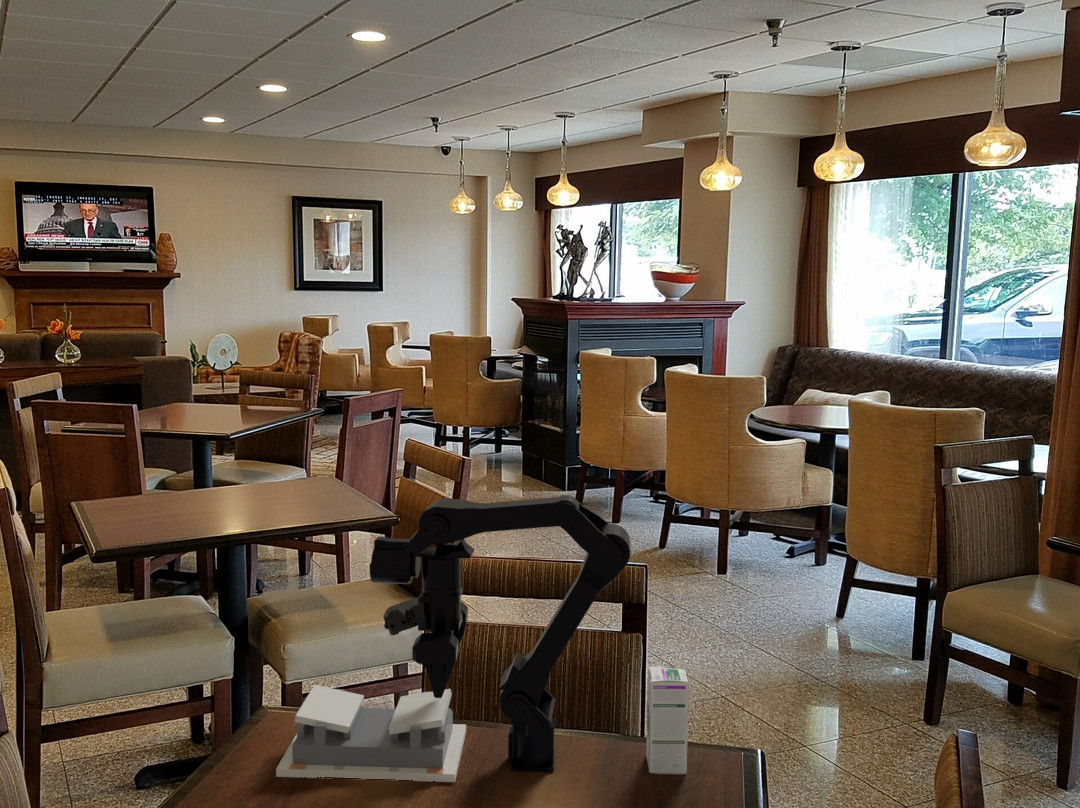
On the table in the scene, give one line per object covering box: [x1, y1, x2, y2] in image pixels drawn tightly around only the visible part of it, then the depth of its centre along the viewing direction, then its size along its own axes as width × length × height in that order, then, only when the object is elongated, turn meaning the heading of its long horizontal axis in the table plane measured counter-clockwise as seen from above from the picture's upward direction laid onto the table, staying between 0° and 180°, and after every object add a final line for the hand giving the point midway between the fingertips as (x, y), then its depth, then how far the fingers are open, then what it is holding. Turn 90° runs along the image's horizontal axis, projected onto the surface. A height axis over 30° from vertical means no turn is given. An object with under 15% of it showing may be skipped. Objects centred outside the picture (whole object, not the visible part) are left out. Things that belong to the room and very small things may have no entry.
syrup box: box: [645, 665, 689, 775], centre depth 147 cm, size 6×6×14 cm
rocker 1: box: [294, 684, 365, 733], centre depth 150 cm, size 8×11×2 cm
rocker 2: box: [388, 688, 453, 734], centre depth 149 cm, size 8×11×2 cm
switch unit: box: [275, 688, 467, 783], centre depth 150 cm, size 26×16×7 cm, turn 89°
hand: (442, 684), depth 149 cm, fingers open, 9 cm apart
